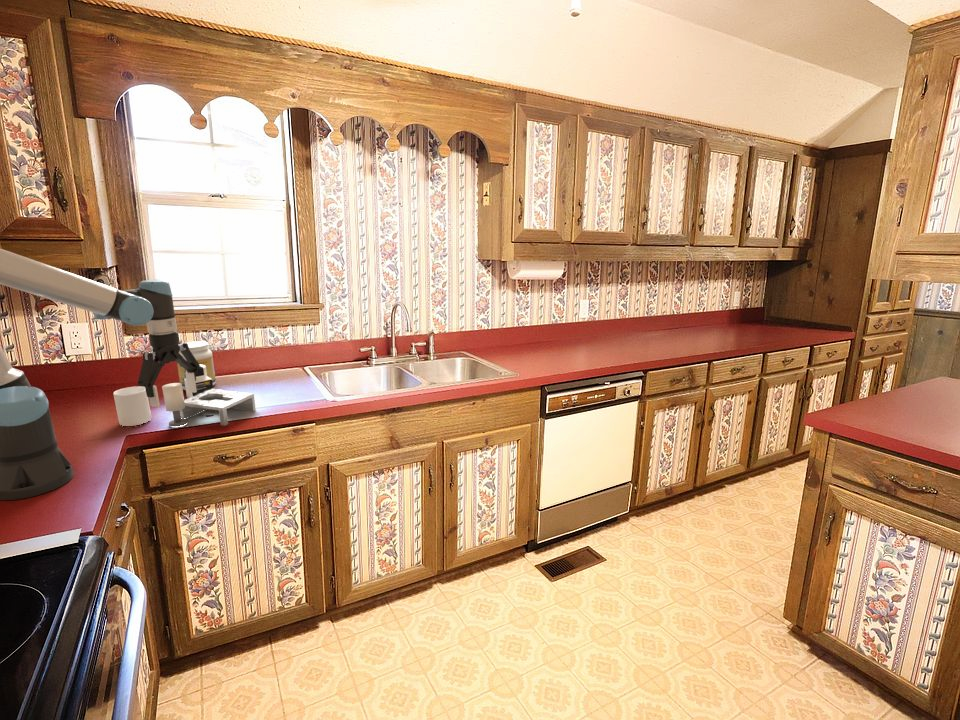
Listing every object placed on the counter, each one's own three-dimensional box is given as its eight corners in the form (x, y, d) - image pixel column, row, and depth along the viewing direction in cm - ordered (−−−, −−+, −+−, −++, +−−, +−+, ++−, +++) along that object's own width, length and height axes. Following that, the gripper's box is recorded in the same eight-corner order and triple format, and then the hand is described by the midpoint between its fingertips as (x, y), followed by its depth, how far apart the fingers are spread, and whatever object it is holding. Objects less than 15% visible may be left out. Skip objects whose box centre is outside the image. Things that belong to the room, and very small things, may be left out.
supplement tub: (180, 393, 185) (173, 349, 180) (181, 384, 195) (174, 342, 190) (217, 388, 190) (211, 346, 186) (215, 380, 201) (210, 339, 196)
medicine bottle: (193, 401, 177) (188, 369, 173) (186, 397, 181) (181, 365, 178) (214, 397, 182) (210, 365, 178) (207, 392, 186) (202, 361, 183)
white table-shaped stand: (224, 425, 156) (222, 407, 155) (181, 419, 161) (178, 402, 159) (255, 410, 169) (253, 393, 168) (214, 404, 174) (212, 388, 172)
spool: (178, 429, 153) (171, 389, 150) (164, 427, 155) (157, 387, 151) (191, 423, 158) (185, 383, 155) (178, 421, 160) (172, 382, 156)
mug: (152, 412, 167) (146, 381, 164) (152, 424, 157) (146, 392, 154) (120, 417, 162) (114, 386, 160) (118, 429, 153) (112, 397, 150)
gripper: (134, 342, 136) (148, 414, 142) (206, 324, 159) (215, 387, 165) (113, 340, 138) (128, 412, 144) (187, 323, 161) (197, 385, 167)
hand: (174, 399), depth 154 cm, fingers open, 13 cm apart
